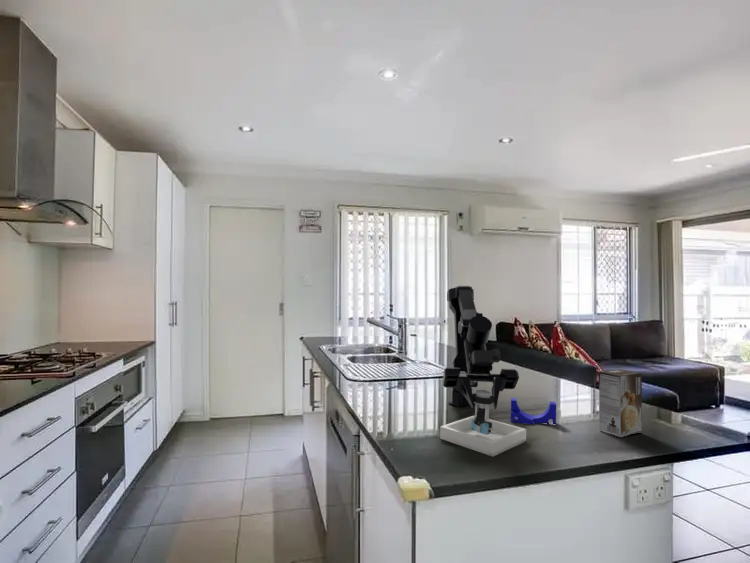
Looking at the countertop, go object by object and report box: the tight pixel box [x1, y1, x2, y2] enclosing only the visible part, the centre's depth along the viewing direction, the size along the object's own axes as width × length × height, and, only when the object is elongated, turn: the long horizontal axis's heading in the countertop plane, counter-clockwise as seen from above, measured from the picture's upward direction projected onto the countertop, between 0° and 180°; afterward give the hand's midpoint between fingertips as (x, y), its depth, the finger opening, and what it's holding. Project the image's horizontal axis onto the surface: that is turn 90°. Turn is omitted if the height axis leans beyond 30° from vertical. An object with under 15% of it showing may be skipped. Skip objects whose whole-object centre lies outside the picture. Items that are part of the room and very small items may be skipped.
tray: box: [439, 414, 527, 458], centre depth 106 cm, size 15×15×3 cm
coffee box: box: [598, 368, 643, 435], centre depth 114 cm, size 9×6×16 cm
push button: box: [471, 389, 496, 435], centre depth 107 cm, size 7×5×10 cm
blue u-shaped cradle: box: [510, 397, 557, 425], centre depth 122 cm, size 12×4×6 cm, turn 72°
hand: (484, 407), depth 105 cm, fingers closed on push button, 5 cm apart
